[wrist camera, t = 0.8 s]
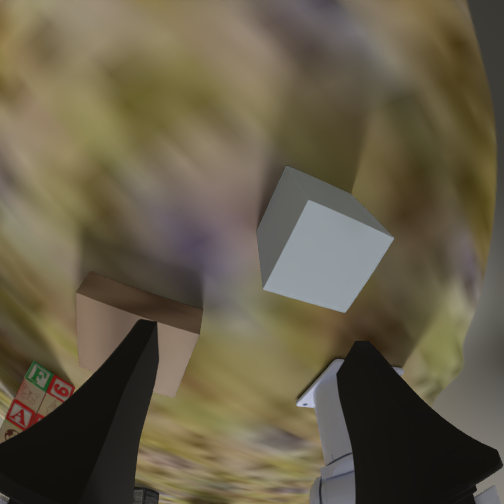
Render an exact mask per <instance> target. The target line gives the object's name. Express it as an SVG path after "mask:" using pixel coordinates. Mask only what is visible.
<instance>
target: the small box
mask: <svg viewBox="0 0 504 504" xmlns="http://www.w3.org/2000/svg"><path fill="white" fill-rule="evenodd" d="M158 500H159V493H156V492H153V491H151V490H148V489H146V488H137V487H134V497H133V504H158Z"/></svg>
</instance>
